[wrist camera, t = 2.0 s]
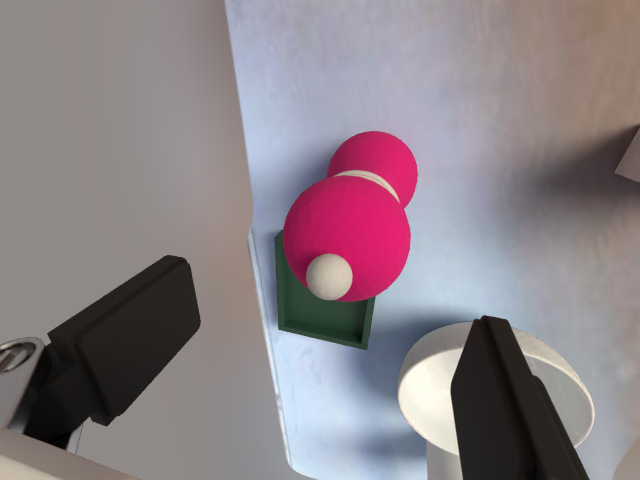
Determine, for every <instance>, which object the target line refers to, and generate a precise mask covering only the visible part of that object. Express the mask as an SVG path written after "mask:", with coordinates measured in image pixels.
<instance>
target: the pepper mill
mask: <svg viewBox="0 0 640 480" xmlns="http://www.w3.org/2000/svg"><path fill="white" fill-rule="evenodd" d="M417 176H418V172H417V164H416V161H415V159H414V156H413V154H412V152H411V151H410V149H409V148H408V147H407V146H406V144H404V143H403V142H402V141H401V140H400V139H398V138H396V137H395V136H393V135H391V134H388V133H384V132H378V131H370V132H364V133H360V134H357V135H355V136H353V137H351V138H349V139H348V140H347V141H345V142H344V143H343V144H342V145H341V146H340V147H339V148H338V150H337V151H336V153H335V154H334V156H333V157H332V159H331V162H330V164H329V167H328V173H327V178H325V179H323V180H321V181H319V182H317V183H315V184H313V185H312V186H311V187H309V188H308V189H306V190H305V191H304V192H302V194H301V195H300V196H299V197H298V198H297V200H296V201H295V202H294V204H293V205H292V207H291V209H290V211H289V213H288V215H287V217H286V220H285V224H284V228H283V248H284V253H285V256H286V260H287V262H288V264H289V266H290V268H291V270H292V272H293V273H294V275H295V276H296V277H297V278H298V280H299V281H300V282H301V283H302V284H303V285H304V286H305V287H307V288H308V289H309V290H310V291H311V292H312V293H313V294H314V295H316V296H317V297H318V298H321V299H324V300H336V301H343V302H355V301H360V300H366V299H368V298H371V297H374V296H376V295H378V294H380V293H381V292H383V291H384V290H386V289H387V288H388V287H389V286H390V285H391V284H392V283H393V282H394V281H395V280H396V279H397V277H398V276H399V275H400V273H401V271H402V270H403V268H404V266H405V264H406V261H407V257H408V254H409V250H410V238H411V233H410V227H409V223H408V220H407V217H406V214H405V211H404V208H405V207H406V206H407V205H408V203H409V202H410V200H411V199H412V197H413V194H414V192H415V188H416V184H417Z"/></svg>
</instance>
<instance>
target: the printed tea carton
mask: <svg viewBox="0 0 640 480" xmlns="http://www.w3.org/2000/svg"><path fill="white" fill-rule="evenodd" d="M614 173H616V174H619V175H621V176H624V177H626V178H629V179H631V180H634V181H637V182H639V183H640V128H639V129H638V131H637V133H636V135H635V136H634V138H633V140H632V142H631V143H630V145H629V147H628V149H627V150H626V152H625V154H624V156H623V158H622V159H621V161H620V163H619V165H618V166H617V168H616V170H615V172H614Z"/></svg>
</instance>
